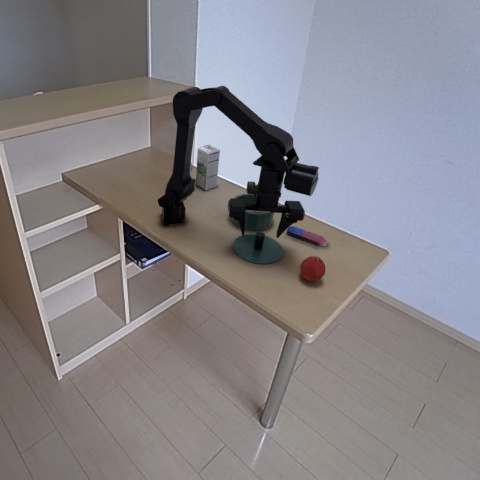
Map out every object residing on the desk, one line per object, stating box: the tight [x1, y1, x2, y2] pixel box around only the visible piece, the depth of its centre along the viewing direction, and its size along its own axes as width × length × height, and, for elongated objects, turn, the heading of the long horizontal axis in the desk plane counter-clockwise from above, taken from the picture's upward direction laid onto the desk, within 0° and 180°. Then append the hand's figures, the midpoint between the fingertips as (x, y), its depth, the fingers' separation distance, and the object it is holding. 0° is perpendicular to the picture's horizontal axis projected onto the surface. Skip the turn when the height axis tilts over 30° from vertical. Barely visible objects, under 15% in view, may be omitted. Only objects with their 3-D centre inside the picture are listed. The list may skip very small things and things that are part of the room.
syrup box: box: [195, 144, 221, 191], centre depth 131 cm, size 6×6×14 cm
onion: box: [299, 255, 326, 282], centre depth 91 cm, size 6×6×8 cm
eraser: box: [286, 225, 327, 248], centre depth 107 cm, size 11×4×2 cm, turn 53°
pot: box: [229, 193, 275, 232], centre depth 114 cm, size 13×13×6 cm
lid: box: [232, 231, 284, 265], centre depth 101 cm, size 14×14×6 cm
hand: (259, 236), depth 100 cm, fingers open, 9 cm apart
